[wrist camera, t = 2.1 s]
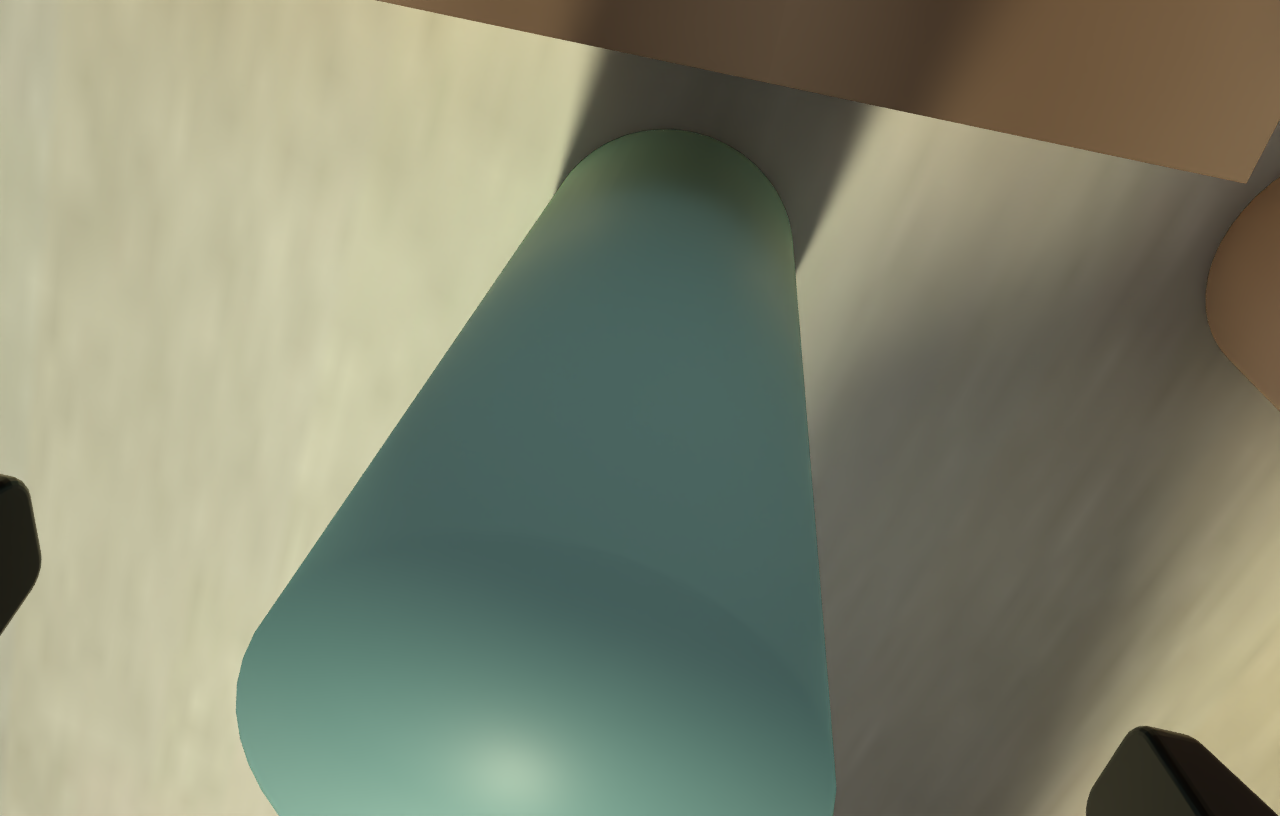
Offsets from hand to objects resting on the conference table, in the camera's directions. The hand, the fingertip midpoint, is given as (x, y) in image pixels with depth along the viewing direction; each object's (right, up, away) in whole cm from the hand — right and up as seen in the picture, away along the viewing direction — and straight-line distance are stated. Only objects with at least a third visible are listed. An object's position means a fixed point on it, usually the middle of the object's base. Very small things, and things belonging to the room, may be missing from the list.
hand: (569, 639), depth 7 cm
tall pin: (+1, +4, +7) cm, 9 cm away
